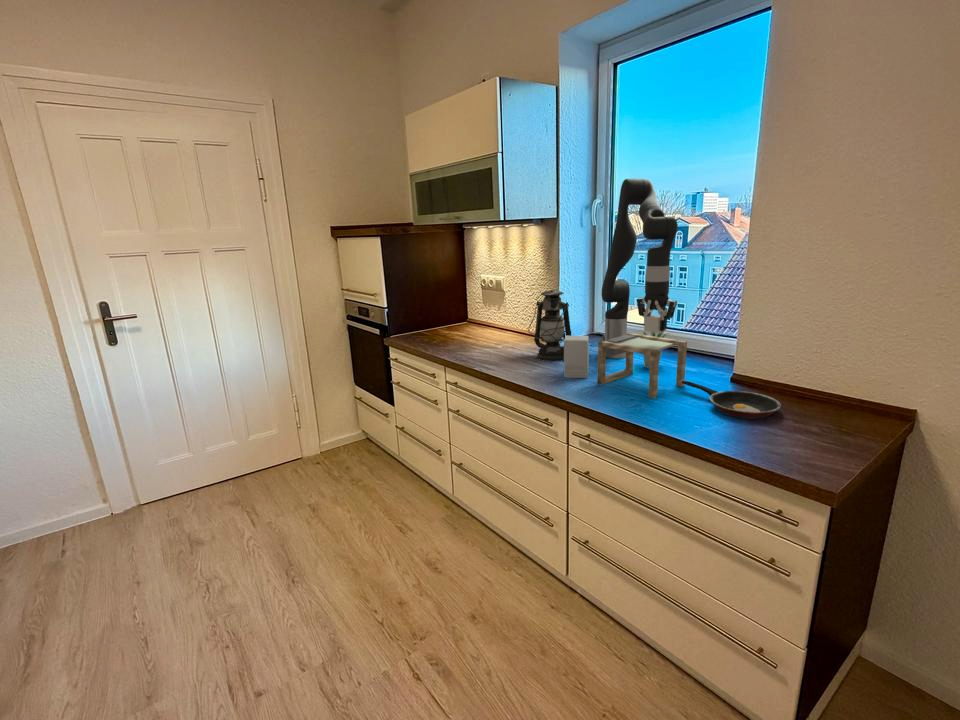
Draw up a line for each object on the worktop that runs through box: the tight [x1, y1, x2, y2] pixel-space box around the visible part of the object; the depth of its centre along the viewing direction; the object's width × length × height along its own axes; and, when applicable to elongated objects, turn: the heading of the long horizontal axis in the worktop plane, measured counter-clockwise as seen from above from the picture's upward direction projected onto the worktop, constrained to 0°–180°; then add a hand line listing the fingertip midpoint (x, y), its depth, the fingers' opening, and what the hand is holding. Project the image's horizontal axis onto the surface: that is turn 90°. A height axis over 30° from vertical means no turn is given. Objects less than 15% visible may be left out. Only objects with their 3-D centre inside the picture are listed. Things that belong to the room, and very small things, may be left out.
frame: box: [596, 332, 688, 399], centre depth 170 cm, size 23×19×16 cm
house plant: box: [636, 328, 671, 369], centre depth 191 cm, size 14×14×16 cm
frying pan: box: [681, 380, 782, 420], centre depth 150 cm, size 19×32×4 cm, turn 27°
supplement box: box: [563, 335, 590, 379], centre depth 186 cm, size 9×9×15 cm
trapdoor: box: [606, 335, 674, 355], centre depth 169 cm, size 19×14×5 cm
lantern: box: [527, 289, 572, 362], centre depth 210 cm, size 19×19×30 cm
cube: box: [643, 314, 667, 334], centre depth 163 cm, size 5×5×5 cm
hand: (654, 329), depth 163 cm, fingers closed on cube, 5 cm apart
